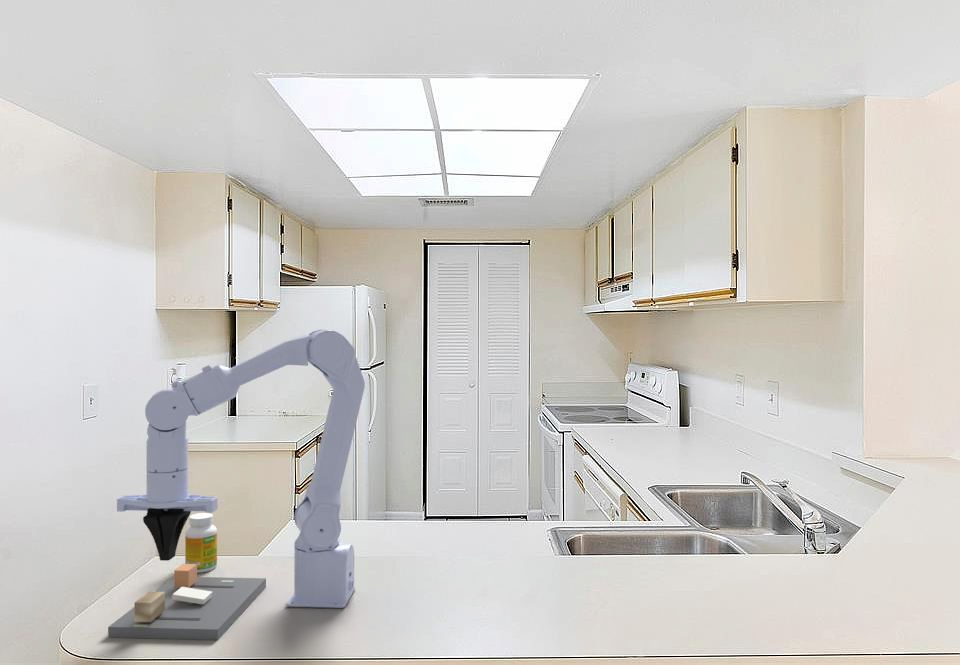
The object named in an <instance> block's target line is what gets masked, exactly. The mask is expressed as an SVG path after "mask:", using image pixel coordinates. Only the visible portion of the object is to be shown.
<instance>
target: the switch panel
mask: <svg viewBox="0 0 960 665" xmlns="http://www.w3.org/2000/svg"><path fill="white" fill-rule="evenodd" d="M266 587H267V578H265V577H264V578H263V577H261V578H260V577H225V576H224V577H223V576H222V577H218V576H217V577H214V576H197V581H196V582H195V583H194V584H193V585H191V586H190V587H189V588H193V589H199V590H206V591H212V597H211V598H210V599H209V600H208V601H207V602H206V603H204V604H197V603H191V602H185V601H178V600H172V595H173V594H174V593H175V592H176V591H177V590H178V589H180V588H175V587H174V576H172V577H171V578H170V579H169V580H167V582H164V583H163V584H162V585H161V586H160V587H159V588H157V589H156V590H154V592H165V611H164V612H162V613H161V614H160V615H159V616H158V617H156V618H155V619H154V620H153V621H152V622H135V606H134V607H132V608H131V609H129V610H128V611H127V612H126V613H125V614H123V615H122V616H121V617H119V618H118V619H116V621H114V622H113V623H111V624H110V625H109V626H108V629H107V631H108V632H107V634H108V636H107V637H108V638H122V639H123V638H127V639H128V638H129V639H158V640H159V639H161V640H163V639H164V640H165V639H166V640H167V639H168V640H171V639H172V640H200V641H201V640H204V641H205V640H207V641H208V640H209V641H210V640H211V641H213V640H214V641H218V640H219V639H220V638H221V637H222V636H223V635H224V634H225V633H226V631H227V630H228V629H229V628H230V627H231V626H232V625H233V624H234V623H235V622H236V620H238V619H239V617H240V616H241V615H242V614H243V613H244V611H246V609H247V608H248V607H249V606H250V605H251V604H252V603H253V602H254V601H255V600H256V599H257V598H258V596H259V595H260V594H261V593H262V592H264V590H265V589H266Z"/></svg>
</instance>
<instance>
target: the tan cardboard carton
mask: <svg viewBox="0 0 960 665" xmlns="http://www.w3.org/2000/svg"><path fill="white" fill-rule="evenodd" d="M134 607H135V622H152V621H153V620H154V619H155V618H156V617H158V616H159V615H160V614H161V613H162V612H164V611H165V592H155V591H148V592H147V593H145V594H144V595H143V596H141V597H140V598H139V599H137V600H136V601H135V602H134Z"/></svg>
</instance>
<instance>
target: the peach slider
mask: <svg viewBox="0 0 960 665" xmlns="http://www.w3.org/2000/svg"><path fill="white" fill-rule="evenodd" d="M173 572H174V573H173V577H174V587H175V588H181V587H187V588H189V587H190V586H191V585H193V584H194V583H195V582H196V581H197V577H198V573H197V564H185V563H182V564H181V565H180V566H179V567H177V568H176V569H175V570H173Z"/></svg>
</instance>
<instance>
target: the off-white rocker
mask: <svg viewBox="0 0 960 665" xmlns="http://www.w3.org/2000/svg"><path fill="white" fill-rule="evenodd" d="M211 597H212V591H206V590H199V589H193V588H187V587H181V588H180V589H178V590H177V591H176V592H175V593H174V594H173V595H172V600H178V601H185V602H191V603H197V604H204V603H206V602H207V601H208V600H209V599H210V598H211Z"/></svg>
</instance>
